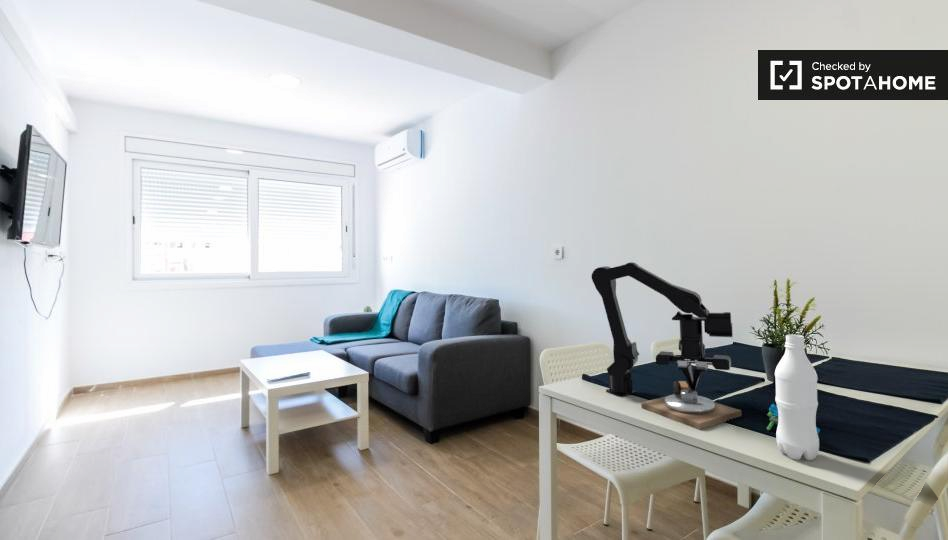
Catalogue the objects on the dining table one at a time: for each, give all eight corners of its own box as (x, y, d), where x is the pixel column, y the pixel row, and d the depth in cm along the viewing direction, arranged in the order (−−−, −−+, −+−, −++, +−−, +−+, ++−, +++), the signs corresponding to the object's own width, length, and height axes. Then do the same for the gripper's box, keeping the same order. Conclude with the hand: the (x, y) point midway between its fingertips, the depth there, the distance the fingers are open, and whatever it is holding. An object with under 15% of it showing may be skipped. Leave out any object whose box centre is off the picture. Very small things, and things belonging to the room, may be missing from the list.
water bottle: (821, 466, 87) (818, 340, 86) (777, 458, 90) (774, 337, 90) (817, 451, 93) (814, 333, 92) (775, 445, 97) (772, 331, 96)
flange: (720, 414, 111) (719, 400, 110) (668, 412, 114) (667, 398, 114) (705, 393, 127) (704, 380, 127) (660, 391, 130) (659, 379, 130)
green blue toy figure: (832, 435, 96) (799, 406, 96) (819, 457, 95) (786, 428, 94) (787, 423, 107) (758, 397, 106) (775, 443, 106) (746, 417, 105)
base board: (641, 407, 123) (640, 388, 123) (681, 397, 130) (680, 378, 129) (699, 429, 107) (698, 407, 106) (741, 416, 113) (740, 395, 113)
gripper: (731, 332, 127) (733, 386, 127) (662, 329, 137) (664, 379, 138) (727, 339, 118) (730, 397, 118) (654, 336, 128) (656, 389, 129)
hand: (693, 390), depth 126 cm, fingers closed
